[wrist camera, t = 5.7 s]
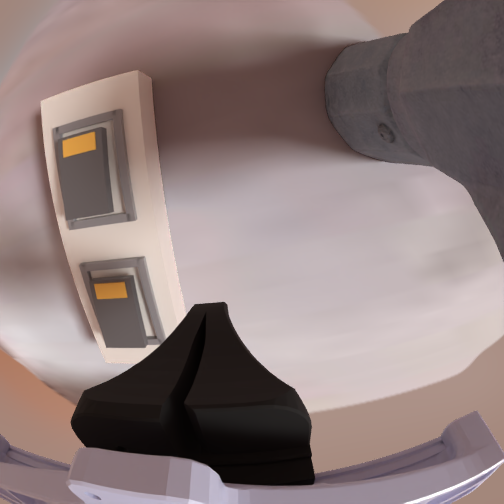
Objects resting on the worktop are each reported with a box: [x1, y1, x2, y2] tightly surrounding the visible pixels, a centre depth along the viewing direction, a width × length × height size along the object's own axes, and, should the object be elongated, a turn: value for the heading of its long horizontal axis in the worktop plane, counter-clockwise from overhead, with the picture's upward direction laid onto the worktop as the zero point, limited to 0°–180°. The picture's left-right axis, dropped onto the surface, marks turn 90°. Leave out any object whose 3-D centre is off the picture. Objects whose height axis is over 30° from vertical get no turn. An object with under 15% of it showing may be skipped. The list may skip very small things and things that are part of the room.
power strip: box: [41, 70, 187, 364], centre depth 19 cm, size 20×7×3 cm, turn 5°
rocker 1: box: [58, 127, 114, 221], centre depth 14 cm, size 5×3×1 cm, turn 5°
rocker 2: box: [89, 275, 148, 348], centre depth 18 cm, size 5×3×1 cm, turn 5°
